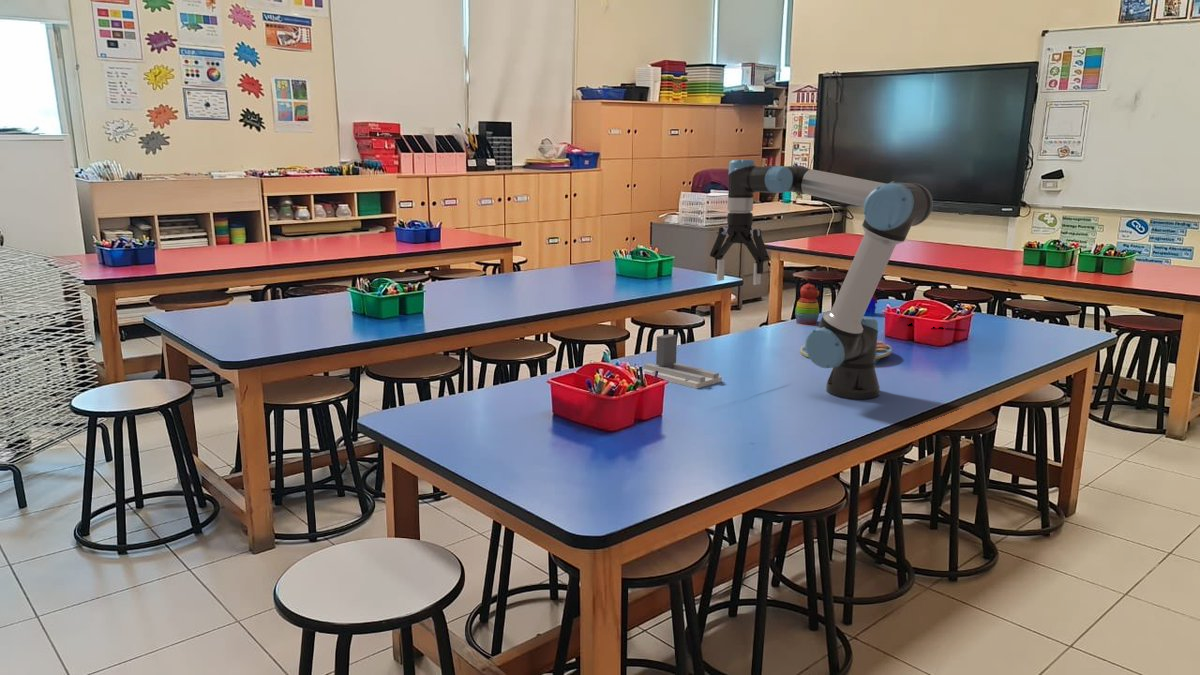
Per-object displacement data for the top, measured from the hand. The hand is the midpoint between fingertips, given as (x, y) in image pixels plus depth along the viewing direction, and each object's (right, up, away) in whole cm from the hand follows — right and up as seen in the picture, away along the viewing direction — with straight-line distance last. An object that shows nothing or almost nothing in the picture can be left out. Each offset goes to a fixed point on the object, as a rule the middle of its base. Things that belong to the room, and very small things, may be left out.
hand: (738, 282), depth 265 cm
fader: (-21, -27, +10) cm, 35 cm away
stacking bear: (+41, -13, +86) cm, 96 cm away
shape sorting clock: (+43, -24, +37) cm, 61 cm away
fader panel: (-17, -29, +6) cm, 34 cm away
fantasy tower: (+70, -10, +104) cm, 125 cm away
